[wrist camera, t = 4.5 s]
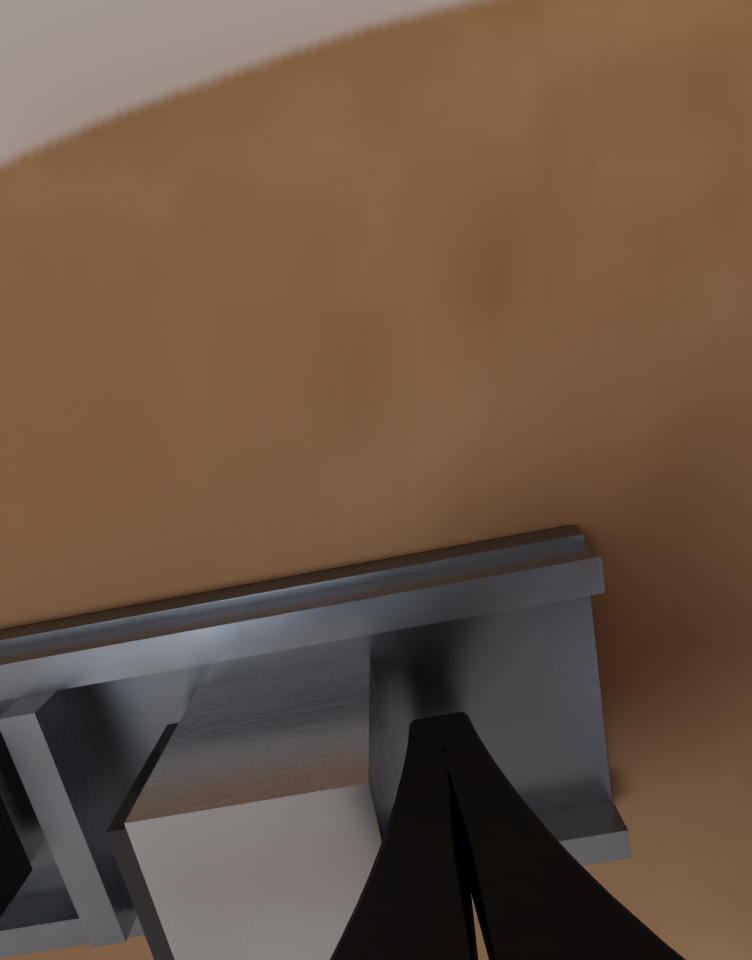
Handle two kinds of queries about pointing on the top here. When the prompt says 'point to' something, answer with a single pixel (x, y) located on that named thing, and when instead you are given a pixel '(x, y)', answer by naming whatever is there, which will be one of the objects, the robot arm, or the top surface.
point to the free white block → (259, 817)
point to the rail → (285, 647)
